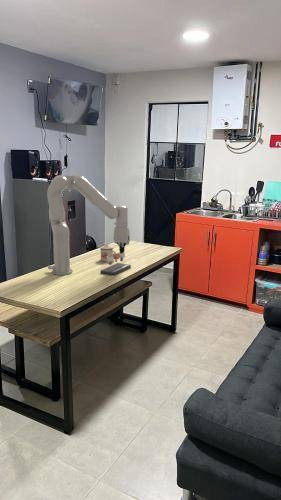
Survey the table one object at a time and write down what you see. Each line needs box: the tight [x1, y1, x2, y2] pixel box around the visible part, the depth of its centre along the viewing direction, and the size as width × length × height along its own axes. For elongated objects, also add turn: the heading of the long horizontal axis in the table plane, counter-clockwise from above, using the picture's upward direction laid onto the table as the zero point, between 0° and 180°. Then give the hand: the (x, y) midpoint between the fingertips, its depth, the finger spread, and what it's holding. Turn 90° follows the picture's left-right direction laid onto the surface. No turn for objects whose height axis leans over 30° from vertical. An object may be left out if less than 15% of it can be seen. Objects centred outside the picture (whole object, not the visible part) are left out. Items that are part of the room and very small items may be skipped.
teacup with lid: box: [100, 243, 117, 262], centre depth 269 cm, size 12×9×12 cm
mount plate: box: [100, 262, 132, 277], centre depth 245 cm, size 21×10×2 cm, turn 152°
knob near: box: [106, 256, 115, 266], centre depth 237 cm, size 4×4×5 cm
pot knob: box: [113, 252, 120, 263], centre depth 243 cm, size 4×4×5 cm
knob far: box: [117, 251, 126, 262], centre depth 249 cm, size 4×4×5 cm
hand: (121, 252), depth 249 cm, fingers closed
